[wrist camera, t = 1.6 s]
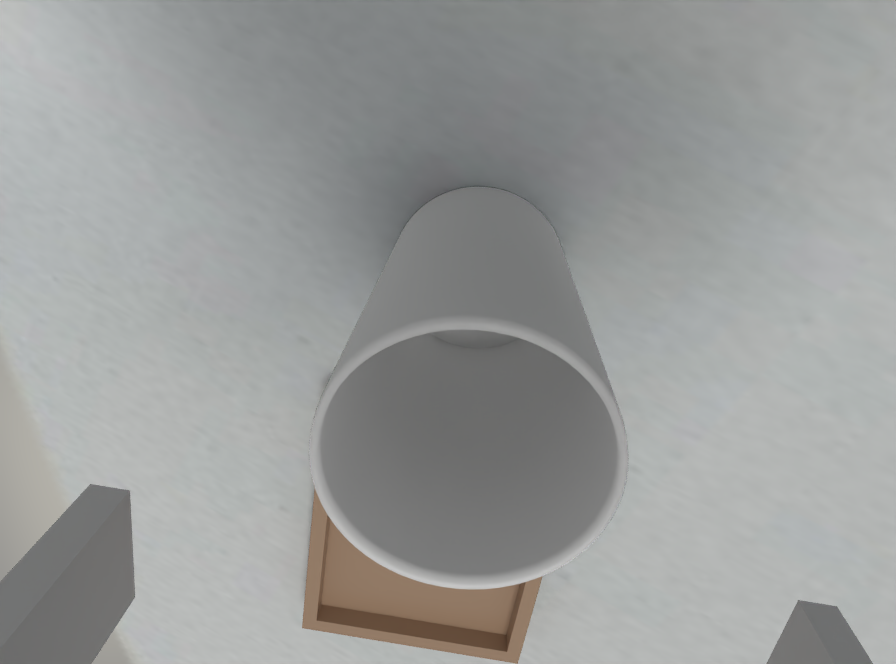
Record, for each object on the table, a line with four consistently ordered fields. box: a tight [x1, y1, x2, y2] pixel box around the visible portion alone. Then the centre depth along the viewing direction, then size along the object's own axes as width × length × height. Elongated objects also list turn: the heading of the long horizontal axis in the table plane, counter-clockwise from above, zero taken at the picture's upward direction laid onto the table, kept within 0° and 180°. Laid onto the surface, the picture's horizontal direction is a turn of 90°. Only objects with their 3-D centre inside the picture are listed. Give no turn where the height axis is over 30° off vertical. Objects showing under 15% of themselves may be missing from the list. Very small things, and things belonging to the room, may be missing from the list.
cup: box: [309, 187, 628, 590], centre depth 24 cm, size 8×8×16 cm
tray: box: [302, 490, 542, 664], centre depth 36 cm, size 16×13×2 cm
